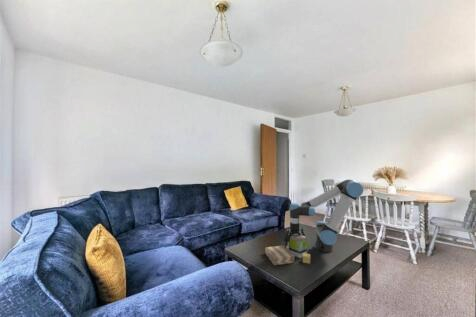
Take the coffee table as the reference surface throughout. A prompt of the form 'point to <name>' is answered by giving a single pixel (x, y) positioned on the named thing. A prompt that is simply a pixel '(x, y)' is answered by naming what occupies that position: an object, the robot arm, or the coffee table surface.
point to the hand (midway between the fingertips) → (294, 248)
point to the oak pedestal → (279, 255)
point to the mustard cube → (306, 258)
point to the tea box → (297, 245)
